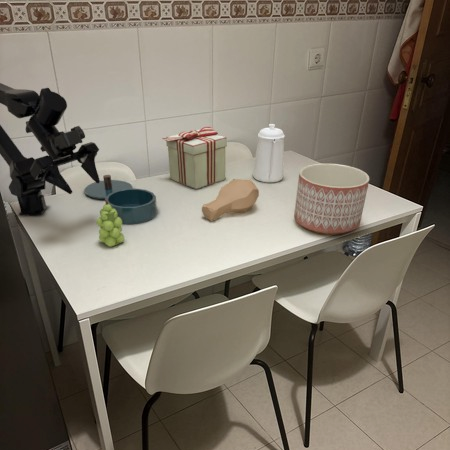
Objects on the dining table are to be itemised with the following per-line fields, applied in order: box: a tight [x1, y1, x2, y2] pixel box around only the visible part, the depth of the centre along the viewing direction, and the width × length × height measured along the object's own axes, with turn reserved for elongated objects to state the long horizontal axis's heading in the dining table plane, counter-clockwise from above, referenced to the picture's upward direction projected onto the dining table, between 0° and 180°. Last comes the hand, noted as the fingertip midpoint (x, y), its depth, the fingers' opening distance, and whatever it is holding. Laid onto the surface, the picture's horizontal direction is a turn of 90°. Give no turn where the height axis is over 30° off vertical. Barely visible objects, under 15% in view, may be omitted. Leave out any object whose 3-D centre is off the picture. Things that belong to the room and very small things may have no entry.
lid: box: [84, 174, 134, 200], centre depth 148 cm, size 16×16×5 cm
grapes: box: [96, 199, 125, 247], centre depth 117 cm, size 7×7×12 cm
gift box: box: [162, 126, 228, 190], centre depth 156 cm, size 17×18×17 cm
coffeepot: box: [252, 123, 286, 183], centre depth 157 cm, size 11×25×19 cm, turn 179°
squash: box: [201, 178, 260, 222], centre depth 136 cm, size 11×20×9 cm, turn 135°
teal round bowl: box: [104, 188, 158, 225], centre depth 134 cm, size 15×15×5 cm
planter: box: [293, 162, 370, 236], centre depth 129 cm, size 19×19×15 cm
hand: (85, 187), depth 116 cm, fingers open, 9 cm apart
